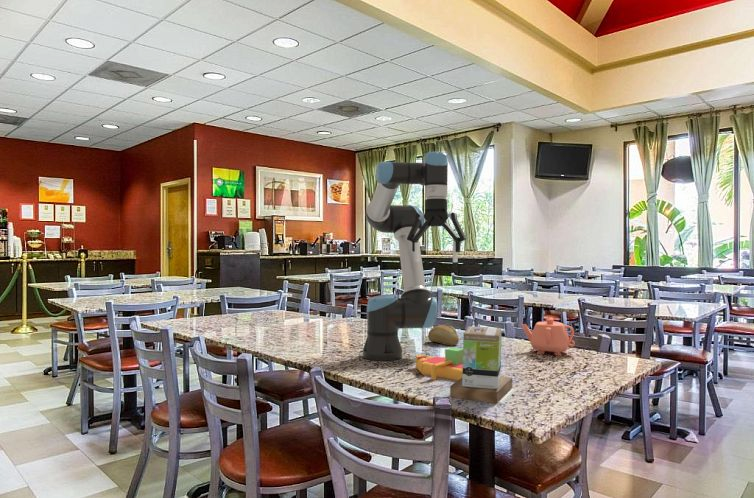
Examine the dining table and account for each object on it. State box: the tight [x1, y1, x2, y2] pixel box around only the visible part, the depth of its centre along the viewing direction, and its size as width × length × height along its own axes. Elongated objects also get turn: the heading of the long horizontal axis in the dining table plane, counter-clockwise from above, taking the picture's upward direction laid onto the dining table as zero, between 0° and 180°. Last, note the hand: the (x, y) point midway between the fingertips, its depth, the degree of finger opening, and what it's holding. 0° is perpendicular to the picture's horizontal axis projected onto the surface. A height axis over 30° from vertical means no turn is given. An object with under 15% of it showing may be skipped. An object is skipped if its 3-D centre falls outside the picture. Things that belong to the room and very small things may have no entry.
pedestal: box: [449, 376, 513, 404], centre depth 150 cm, size 13×17×3 cm
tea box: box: [462, 325, 502, 389], centre depth 150 cm, size 15×10×15 cm, turn 165°
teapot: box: [521, 316, 576, 357], centre depth 210 cm, size 16×17×14 cm
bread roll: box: [427, 324, 460, 347], centre depth 228 cm, size 10×15×8 cm, turn 45°
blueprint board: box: [438, 386, 518, 405], centre depth 150 cm, size 18×16×1 cm
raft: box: [415, 347, 463, 382], centre depth 173 cm, size 23×30×9 cm
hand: (435, 262), depth 178 cm, fingers open, 13 cm apart
